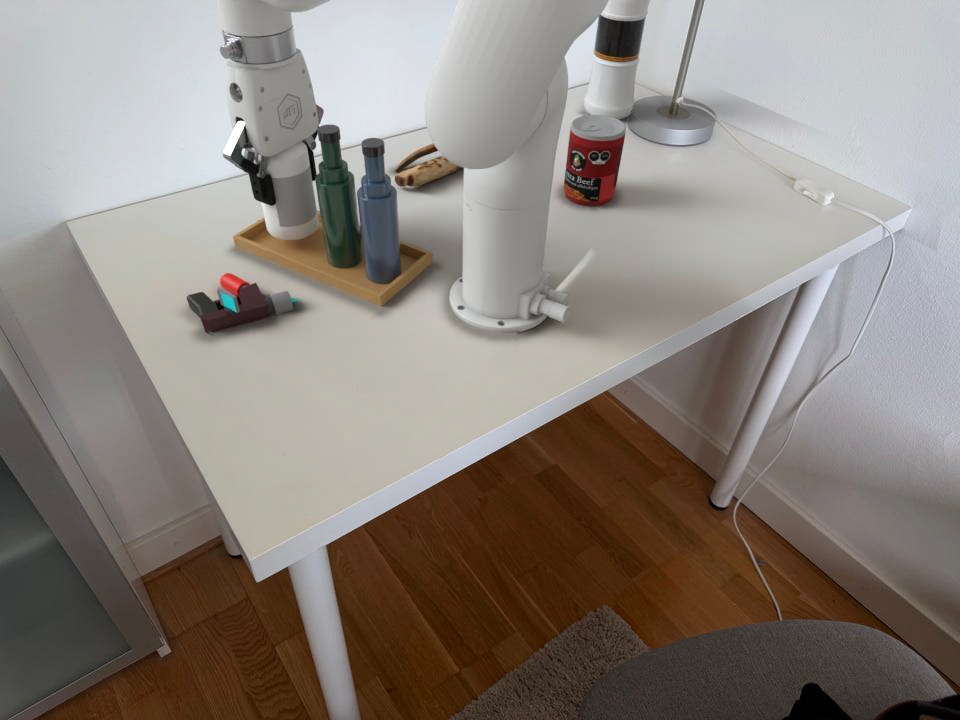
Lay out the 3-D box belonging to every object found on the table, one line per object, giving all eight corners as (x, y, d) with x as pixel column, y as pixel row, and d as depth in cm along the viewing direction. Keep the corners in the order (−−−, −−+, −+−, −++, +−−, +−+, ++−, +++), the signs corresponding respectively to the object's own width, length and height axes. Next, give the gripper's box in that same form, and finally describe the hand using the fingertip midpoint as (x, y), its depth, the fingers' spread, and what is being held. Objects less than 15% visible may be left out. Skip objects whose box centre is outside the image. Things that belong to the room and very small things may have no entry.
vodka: (583, 120, 126) (608, -70, 106) (582, 100, 133) (605, -82, 112) (634, 123, 125) (669, -67, 105) (630, 103, 132) (662, -79, 112)
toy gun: (305, 314, 82) (299, 281, 79) (201, 343, 78) (190, 309, 75) (282, 272, 88) (276, 239, 85) (185, 296, 84) (174, 263, 81)
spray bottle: (307, 244, 89) (284, 107, 77) (258, 237, 90) (227, 101, 78) (326, 217, 94) (307, 85, 82) (279, 211, 95) (254, 79, 83)
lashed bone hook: (452, 147, 117) (370, 180, 107) (452, 120, 114) (368, 151, 104) (492, 164, 112) (411, 200, 102) (493, 136, 109) (409, 170, 99)
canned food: (552, 192, 106) (560, 123, 98) (587, 177, 110) (596, 109, 102) (589, 212, 101) (600, 141, 94) (624, 195, 105) (637, 126, 98)
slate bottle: (408, 270, 88) (401, 139, 76) (387, 288, 85) (376, 155, 73) (380, 259, 90) (369, 130, 78) (358, 276, 87) (343, 144, 75)
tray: (433, 265, 90) (432, 252, 89) (381, 310, 83) (380, 296, 82) (293, 213, 99) (291, 200, 98) (235, 249, 92) (232, 236, 90)
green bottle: (369, 255, 91) (357, 126, 79) (347, 272, 88) (331, 141, 76) (342, 245, 92) (326, 117, 80) (319, 261, 89) (299, 131, 77)
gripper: (226, 74, 69) (259, 228, 81) (337, 30, 80) (352, 170, 92) (174, 59, 72) (214, 210, 84) (289, 18, 83) (309, 156, 95)
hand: (286, 188), depth 88 cm, fingers closed on spray bottle, 6 cm apart
